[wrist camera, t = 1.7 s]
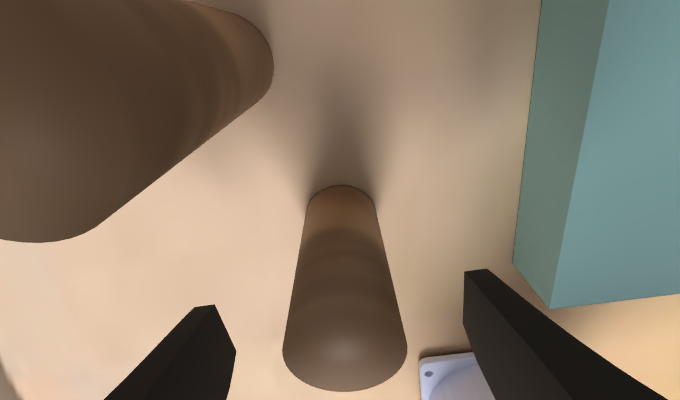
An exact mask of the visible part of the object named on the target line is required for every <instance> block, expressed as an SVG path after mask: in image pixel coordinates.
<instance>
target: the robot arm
mask: <svg viewBox="0 0 680 400" xmlns="http://www.w3.org/2000/svg"><path fill="white" fill-rule="evenodd" d="M463 325H464V328H465V331H466V333H467V336H468V339H469V342H470V345H471V347H472V350H473V352H468V353H460V354H451V355H442V356H433V357H426V358H423V359H421V360H420V361H419V377H420V392H421V400H668V399H666V398H664V397H663V396H661V395H660V394H658V393H656V392H655V391H653V390H652V389H650V388H648V387H647V386H645V385H644V384H642V383H640V382H639V381H637V380H636V379H634V378H633V377H631V376H630V375H628V374H627V373H625V372H623V371H622V370H620V369H619V368H617V367H616V366H614V365H613V364H612V363H610V362H609V361H607V360H606V359H604V358H603V357H602V356H600V355H599V354H597V353H596V352H594V351H593V350H591V349H590V348H589V347H587V346H586V345H584V344H583V343H582V342H580V341H579V340H577V339H576V338H575V337H573V336H572V335H571V334H569V333H568V332H567V331H565V330H564V329H563V328H561V327H560V326H559V325H557V324H556V323H555V322H553V321H552V320H551V319H549V318H548V317H547V316H545V315H544V314H543V313H542V312H540V311H539V310H538V309H536V308H535V307H534V306H533V305H531V304H530V303H529V302H528V301H526V300H525V299H524V298H523V297H521V296H520V295H519V294H518V293H516V292H515V291H514V290H513V289H511V288H510V287H509V286H508V285H507V284H505V283H504V282H503V281H502V280H500V279H499V278H498V277H497V276H496V275H494V274H493V273H492V272H490V271H489V270H488V269H480V270H473V271H465V272H464V305H463ZM235 356H236V349H235V347H234V345H233V343H232V341H231V339H230V337H229V334H228V332H227V330H226V328H225V326H224V324H223V321H222V319H221V317H220V315H219V313H218V311H217V309H216V306H215V305H208V306H200V307H194V308H193V309H192V310H191V311H190V312H189V313H188V314H187V315H186V316H185V317H184V318H183V319H182V320H181V321H180V322H179V323H178V324H177V325H176V326H175V327H174V329H173V330H172V331H171V332H170V333H169V334H168V335H167V336H166V337H165V338H164V339H163V340H162V341H161V342H160V343H159V344H158V345H157V346H156V347H155V348H154V350H153V351H152V352H151V353H150V354H149V355H148V356H147V357H146V358H145V359H144V360H143V361H142V362H141V363H140V364H139V365H138V366H137V367H136V368H135V369H134V370H133V371H132V372H131V373H130V374H129V375H128V376H127V377H126V378H125V379H124V380H123V381H122V382H121V383H120V384H119V385H118V386H117V387H116V388H115V389H114V390H113V391H112V392H111V393H110V394H109V395H108V396H107V397H106V398H105V399H104V400H226V398H227V395H228V392H229V388H230V383H231V378H232V373H233V368H234V362H235Z"/></svg>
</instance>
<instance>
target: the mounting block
mask: <svg viewBox="0 0 680 400" xmlns="http://www.w3.org/2000/svg"><path fill="white" fill-rule="evenodd" d="M512 264H513V265H514V266H515V267H516V269H517V270H518V271H519V272H520V274H521V275H522V276H523V277H524V279H525V280H526V281H527V282H528V284H529V285H530V286H531V287H532V289H533V290H534V291H535V292H536V294H537V295H538V296H539V297H540V299H541V300H542V301H543V303H544V304H545V305H546V306H547V308H548V309H557V308H565V307H573V306H582V305H590V304H598V303H607V302H615V301H623V300H631V299H640V298H648V297H656V296H664V295H673V294H680V0H542V6H541V15H540V24H539V33H538V42H537V50H536V59H535V68H534V77H533V86H532V95H531V103H530V112H529V121H528V130H527V139H526V148H525V157H524V165H523V174H522V183H521V192H520V201H519V210H518V218H517V227H516V236H515V245H514V254H513V263H512Z"/></svg>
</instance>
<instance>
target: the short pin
mask: <svg viewBox="0 0 680 400" xmlns="http://www.w3.org/2000/svg"><path fill="white" fill-rule="evenodd" d="M282 351H283V358H284V361H285V363H286V366H287V367H288V369H289V370H290V371H291V372H292V373H293V374H294V375H295V376H296V377H297V378H298V379H300V380H301V381H303V382H305V383H307V384H309V385H311V386H313V387H316V388H319V389H323V390H328V391H336V392H351V391H359V390H364V389H368V388H371V387H374V386H376V385H379V384H381V383H383V382H385V381H386V380H388V379H389V378H391V377H392V376H393V375H394V374H396V373H397V372H398V370H399V369H400V368H401V367H402V365H403V363H404V361H405V359H406V355H407V342H406V338H405V333H404V329H403V325H402V321H401V316H400V312H399V308H398V304H397V299H396V295H395V291H394V287H393V282H392V278H391V274H390V270H389V265H388V261H387V257H386V253H385V248H384V244H383V240H382V236H381V231H380V227H379V223H378V219H377V214H376V210H375V207H374V204H373V202H372V200H371V199H370V198H369V197H368V196H367V195H366V194H365V193H364V192H363V191H361V190H359V189H357V188H355V187H351V186H346V185H336V186H331V187H328V188H325V189H323V190H321V191H320V192H318V193H317V194H316V195H315V196H314V197H313V198H312V199H311V201H310V202H309V204H308V207H307V210H306V216H305V221H304V227H303V233H302V239H301V244H300V250H299V256H298V262H297V267H296V273H295V279H294V285H293V290H292V296H291V302H290V308H289V313H288V319H287V325H286V331H285V337H284V342H283V349H282Z"/></svg>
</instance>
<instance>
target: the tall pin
mask: <svg viewBox="0 0 680 400" xmlns="http://www.w3.org/2000/svg"><path fill="white" fill-rule="evenodd" d="M273 69H274V68H273V58H272V54H271V50H270V48H269V45H268V43H267V41H266V40H265V38H264V36H263V35H262V34H261V32H260V31H259V30H258V29H257V28H256V27H255V26H254V25H253V24H252V23H251V22H249V21H248V20H246V19H245V18H243V17H241V16H238V15H235V14H232V13H229V12H225V11H221V10H218V9H214V8H210V7H206V6H203V5H199V4H195V3H192V2H188V1H184V0H0V239H3V240H9V241H17V242H31V243H43V242H55V241H60V240H65V239H70V238H73V237H76V236H78V235H81V234H84V233H86V232H87V231H89V230H91V229H93V228H95V227H96V226H98V225H99V224H100V223H102V222H103V221H104V220H105V219H107V218H108V217H109V216H111V215H112V214H113V213H114V212H116V211H117V210H118V209H120V208H121V207H122V206H124V205H125V204H126V203H127V202H129V201H130V200H131V199H133V198H134V197H135V196H136V195H138V194H139V193H140V192H142V191H143V190H144V189H145V188H147V187H148V186H149V185H151V184H152V183H153V182H155V181H156V180H157V179H158V178H160V177H161V176H162V175H164V174H165V173H166V172H167V171H169V170H170V169H171V168H173V167H174V166H175V165H176V164H178V163H179V162H180V161H182V160H183V159H184V158H185V157H187V156H188V155H189V154H191V153H192V152H193V151H195V150H196V149H197V148H198V147H200V146H201V145H202V144H204V143H205V142H206V141H207V140H209V139H210V138H211V137H213V136H214V135H215V134H216V133H218V132H219V131H220V130H222V129H223V128H224V127H226V126H227V125H228V124H229V123H231V122H232V121H233V120H235V119H236V118H237V117H238V116H240V115H241V114H242V113H244V112H245V111H246V110H247V109H249V108H250V107H251V106H253V105H254V104H255V103H257V102H258V101H259V100H260V99H261V98H262V97H263V96H264V95H265V94H266V92H267V91H268V89H269V87H270V84H271V82H272V77H273Z"/></svg>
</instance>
